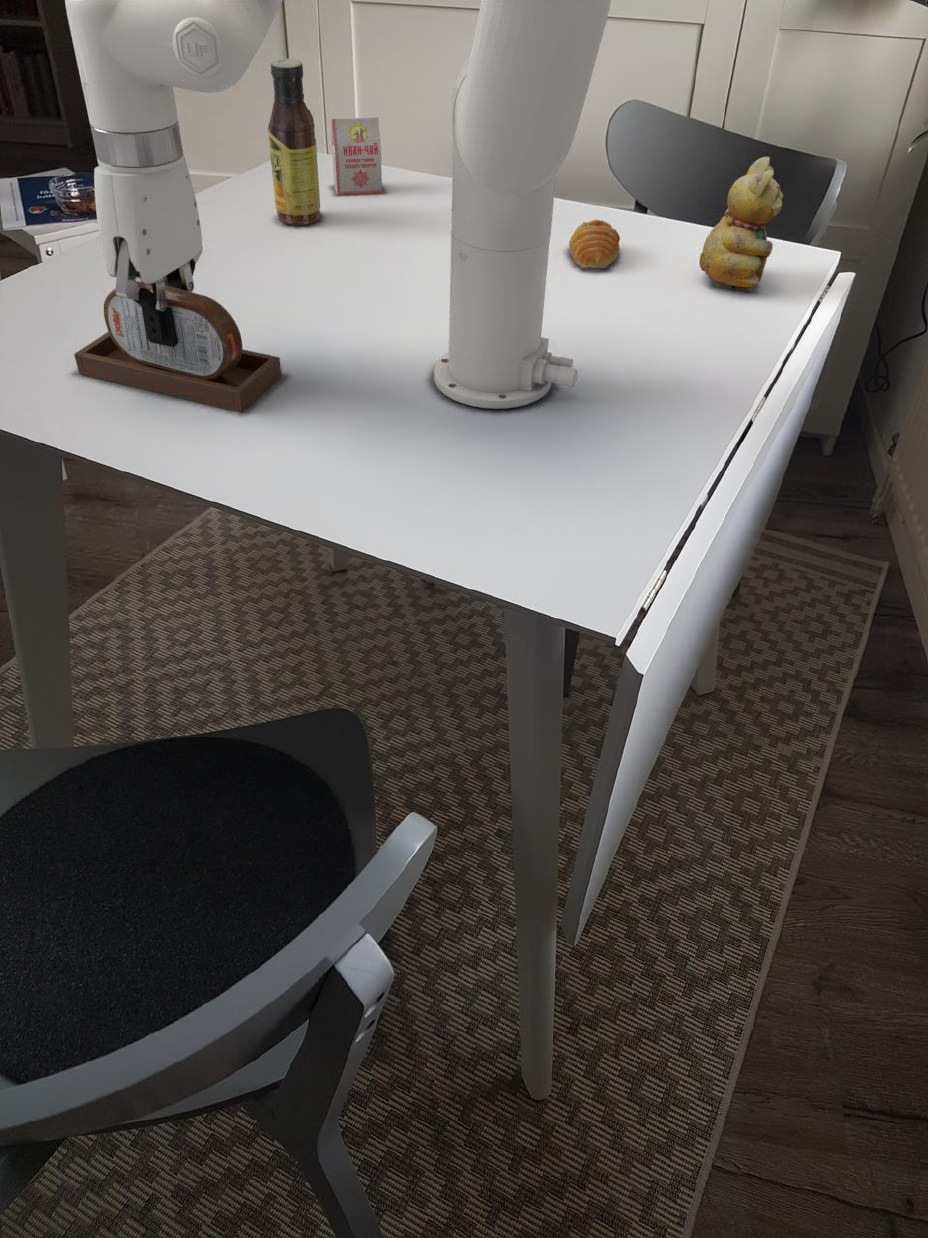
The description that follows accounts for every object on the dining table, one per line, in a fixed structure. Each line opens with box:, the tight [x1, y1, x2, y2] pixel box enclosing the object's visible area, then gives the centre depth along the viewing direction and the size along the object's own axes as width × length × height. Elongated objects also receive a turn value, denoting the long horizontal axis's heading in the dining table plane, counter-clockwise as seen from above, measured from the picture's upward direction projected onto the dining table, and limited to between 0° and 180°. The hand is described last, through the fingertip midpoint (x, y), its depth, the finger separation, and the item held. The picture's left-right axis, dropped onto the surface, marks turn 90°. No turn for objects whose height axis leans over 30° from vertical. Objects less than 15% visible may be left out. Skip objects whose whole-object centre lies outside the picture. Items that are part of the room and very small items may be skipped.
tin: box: [103, 284, 243, 381], centre depth 97 cm, size 15×3×8 cm, turn 69°
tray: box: [73, 331, 283, 413], centre depth 100 cm, size 20×8×2 cm, turn 69°
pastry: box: [568, 219, 621, 269], centre depth 127 cm, size 9×7×4 cm
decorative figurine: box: [699, 156, 784, 293], centre depth 118 cm, size 10×8×15 cm
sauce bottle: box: [267, 58, 321, 226], centre depth 129 cm, size 7×6×20 cm
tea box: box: [331, 116, 383, 196], centre depth 142 cm, size 4×7×10 cm, turn 103°
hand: (173, 335), depth 98 cm, fingers closed on tin, 2 cm apart
